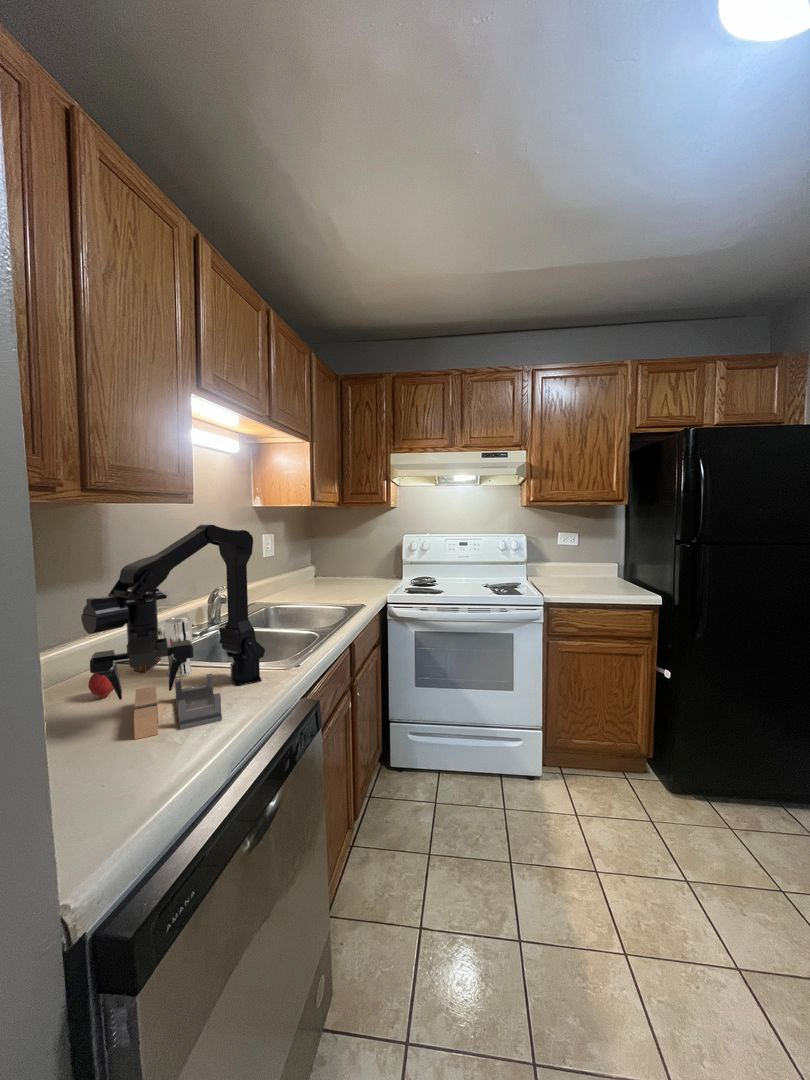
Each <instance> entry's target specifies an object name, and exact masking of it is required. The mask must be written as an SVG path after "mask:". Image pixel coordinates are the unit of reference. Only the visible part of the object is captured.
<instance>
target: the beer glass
mask: <svg viewBox="0 0 810 1080" xmlns="http://www.w3.org/2000/svg"><path fill="white" fill-rule="evenodd" d="M191 620H192V619H191V617H184V616H183V617H173V618H168V619H165V620H164V622H163V623H164V624H163V638H167V647H172V642H176V641H183V640H189V641H190V642H191V643H192V644H193V629H192V628H193V626H192V621H191ZM167 660H168V669H167V676H168V677H169V672H170V660H171V656H167ZM192 672H193V670H192V665H191V658H188V659H187V662H184V663H182V664H181V665H180V667H179V669H178V671H177V673H176V676H175V678H181V677H180V676H182V677H185V676H184V675H186V676H188V675H190V674H192ZM187 674H188V675H187Z"/></svg>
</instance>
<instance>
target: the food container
mask: <svg viewBox="0 0 810 1080" xmlns="http://www.w3.org/2000/svg"><path fill="white" fill-rule="evenodd" d="M162 635H163V630H162V628H161V627H160V628H159V627H158V638H159V639H162ZM159 661H161V662H162V657H158V658H157V663H158V662H159ZM157 663H156V664H157ZM156 664H155V665H152V666H149V665H147V666H140V667H138V668H133V671H134V672H135V673H137V672H138V673H139V674H147V673H148V672H150V671H151V670H152V669H154V668H156ZM146 672H147V673H146Z"/></svg>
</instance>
